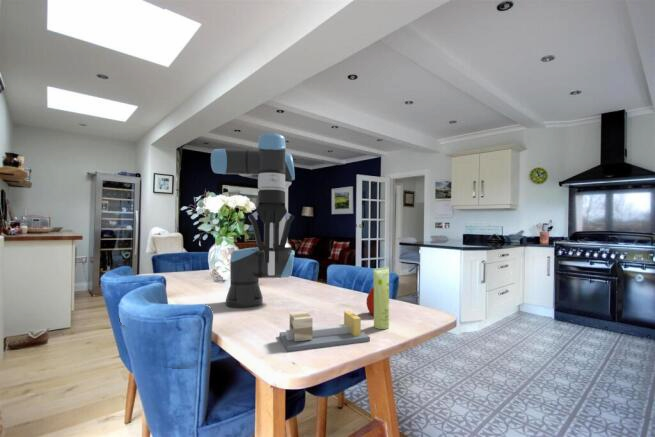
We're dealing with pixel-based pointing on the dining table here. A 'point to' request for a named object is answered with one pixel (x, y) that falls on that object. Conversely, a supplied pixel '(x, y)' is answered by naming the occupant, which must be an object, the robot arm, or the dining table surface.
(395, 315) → the dining table surface
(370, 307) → the apple
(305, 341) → the rail board
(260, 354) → the dining table surface
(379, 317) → the tube
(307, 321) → the beige wooden sliding block
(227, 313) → the dining table surface
